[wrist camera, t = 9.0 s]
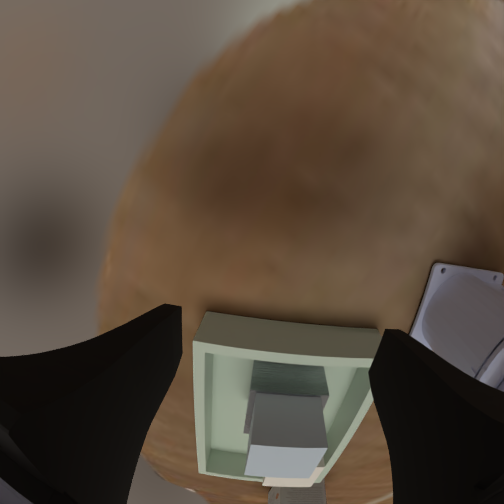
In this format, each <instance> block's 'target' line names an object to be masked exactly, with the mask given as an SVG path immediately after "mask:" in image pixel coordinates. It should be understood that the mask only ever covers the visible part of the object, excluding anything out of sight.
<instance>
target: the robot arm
mask: <svg viewBox="0 0 504 504" xmlns="http://www.w3.org/2000/svg"><path fill="white" fill-rule="evenodd" d="M442 268H443V271H442V272H441V269H442ZM503 278H504V275H503V274H502V273H501V272H495V271H489V270H483V269H477V268H470V267H464V266H458V265H451V264H445V263H435V264H434V265H433V267H432V270H431V273H430V277H429V280H428V283H427V287H426V290H425V293H424V296H423V299H422V302H421V305H420V308H419V311H418V313H417V316H416V319H415V321H414V324H413V327H412V329H411V332H410V334H409V335H408V334H407V333H405V332H403V331H401V330H399V329H385V331H384V334H383V336H382V339H381V342H380V344H379V347H378V349H377V352H376V354H375V357H374V359H373V362H372V364H371V367H370V369H369V371H368V375H369V381H370V387H371V392H372V396H373V400H374V403H375V406H376V409H377V412H378V415H379V418H380V422H381V425H382V428H383V431H384V434H385V438H386V441H387V445H388V449H389V455H390V462H391V469H392V481H393V504H504V286H502V282H503ZM432 350H433V351H434V352H433V351H432ZM182 353H183V352H182V306H176V305H170V304H163V305H160V306H158V307H156V308H154V309H152V310H151V311H149V312H147V313H145V314H143V315H141V316H139V317H137V318H135V319H133V320H131V321H130V322H128V323H126V324H124V325H122V326H119V327H117V328H115V329H113V330H111V331H108V332H106V333H104V334H102V335H100V336H97V337H95V338H92V339H90V340H87V341H84V342H81V343H78V344H75V345H72V346H68V347H65V348H60V349H56V350H52V351H47V352H43V353H37V354H30V355H22V356H10V357H0V504H127V499H128V495H129V491H130V487H131V483H132V479H133V475H134V472H135V468H136V465H137V462H138V458H139V455H140V452H141V449H142V446H143V443H144V440H145V437H146V435H147V432H148V429H149V427H150V425H151V423H152V420H153V419H154V417H155V415H156V413H157V411H158V409H159V407H160V405H161V403H162V401H163V399H164V397H165V395H166V393H167V391H168V389H169V387H170V385H171V383H172V381H173V379H174V377H175V374H176V371H177V368H178V366H179V363H180V359H181V356H182Z"/></svg>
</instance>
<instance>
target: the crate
mask: <svg viewBox="0 0 504 504" xmlns="http://www.w3.org/2000/svg"><path fill="white" fill-rule="evenodd" d="M381 339H382V336H381V335H380V333H379V331H378V329H368V328H352V327H338V326H325V325H314V324H303V323H293V322H284V321H275V320H267V319H259V318H251V317H243V316H236V315H229V314H222V313H216V312H209V311H206V313H205V315H204V317H203V320H202V322H201V324H200V326H199V328H198V331H197V333H196V335H195V337H194V339H193V380H194V408H195V428H196V443H197V457H198V469H199V473H202V474H207V475H213V476H219V477H225V478H232V479H240V480H249V481H260V482H263V477H260V476H249V475H244V472H245V464H246V456H247V448H248V440H249V434H244V433H243V431H244V424H245V417H246V409H247V402H248V395H249V388H250V382H251V375H252V368H253V362H254V360H260V361H269V362H278V363H289V364H300V365H314V366H324V370H325V375H326V380H327V385H328V391H329V398H328V400H327V403H326V405H325V407H324V410H323V415H324V422H325V429H326V436H327V444H328V449H327V450H326V452H325V454H324V464H325V468H324V469H323V471H322V472H321V473H320V475H319V476H318V478H317V479H316V480H315V482H314V483H320V482H321V481H322V480H323V479H324V477H325V476H326V475H327V473H328V472H329V470H330V469H331V468H332V466H333V465H334V463H335V462H336V461H337V459H338V458H339V456H340V455H341V453H342V452H343V450H344V449H345V447H346V446H347V444H348V443H349V441H350V439H351V438H352V436H353V435H354V433H355V431H356V430H357V428H358V426H359V425H360V423H361V421H362V420H363V418H364V416H365V414H366V413H367V411H368V409H369V407H370V405H371V403H372V402H373V396H372V392H371V387H370V381H369V375H368V371H369V369H370V367H371V364H372V362H373V359H374V357H375V354H376V352H377V349H378V347H379V344H380V342H381Z"/></svg>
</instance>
